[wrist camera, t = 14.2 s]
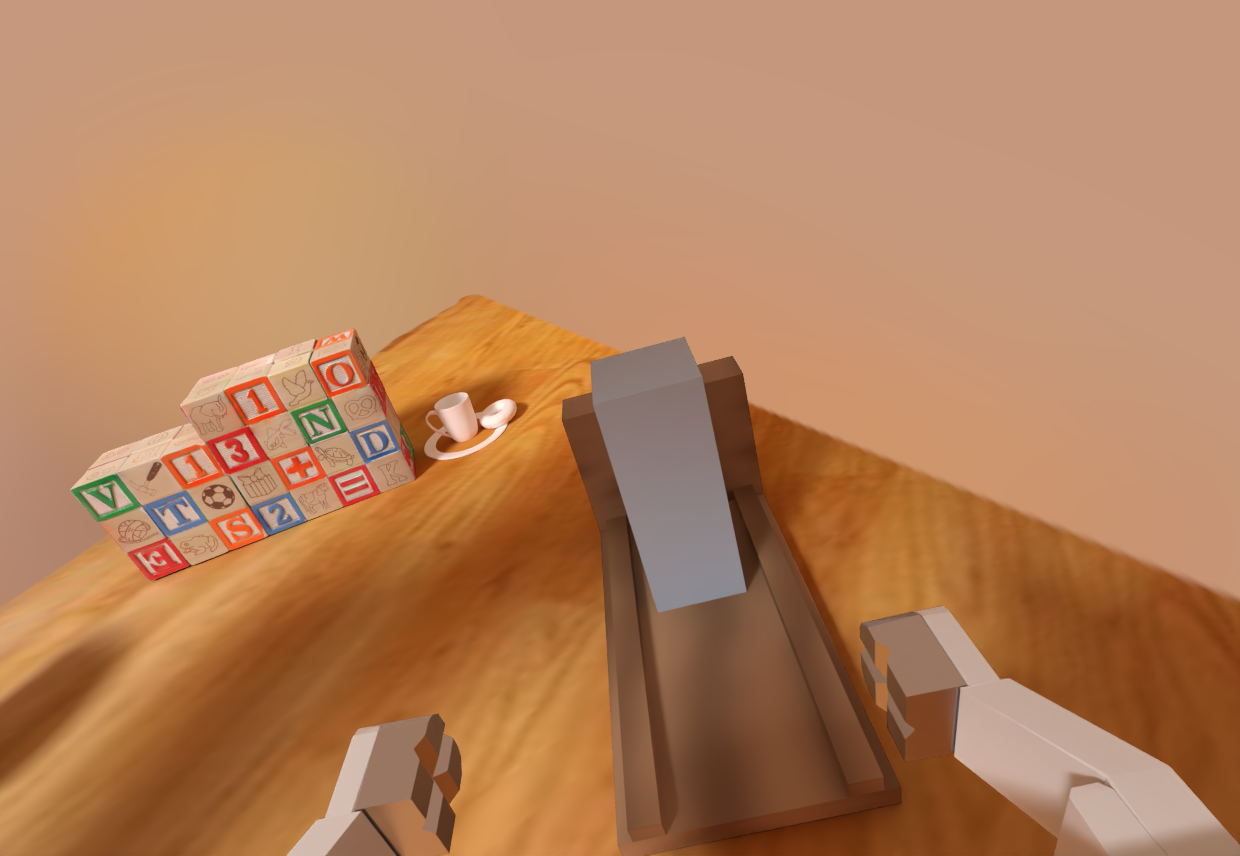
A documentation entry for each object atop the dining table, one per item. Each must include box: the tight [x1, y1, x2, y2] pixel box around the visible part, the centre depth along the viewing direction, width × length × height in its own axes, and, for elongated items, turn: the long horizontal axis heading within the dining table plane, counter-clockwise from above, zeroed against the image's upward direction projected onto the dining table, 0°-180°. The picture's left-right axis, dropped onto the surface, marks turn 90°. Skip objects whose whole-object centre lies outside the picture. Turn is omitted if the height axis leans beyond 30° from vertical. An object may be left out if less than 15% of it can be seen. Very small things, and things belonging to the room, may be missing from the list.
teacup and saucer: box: [424, 392, 517, 460], centre depth 55 cm, size 9×8×4 cm
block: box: [591, 337, 747, 612], centre depth 29 cm, size 4×4×12 cm
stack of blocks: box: [70, 328, 416, 581], centre depth 48 cm, size 21×6×12 cm, turn 110°
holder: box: [562, 356, 901, 856], centre depth 28 cm, size 10×20×9 cm, turn 4°
